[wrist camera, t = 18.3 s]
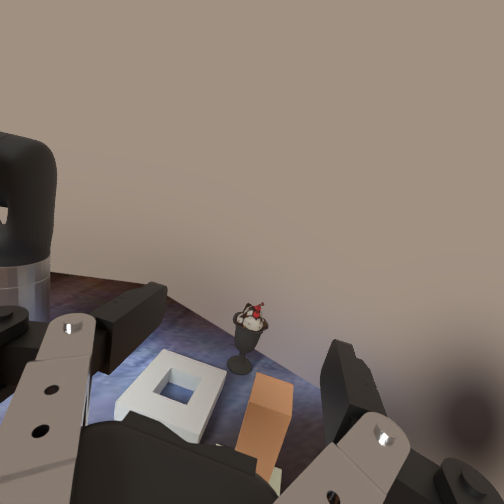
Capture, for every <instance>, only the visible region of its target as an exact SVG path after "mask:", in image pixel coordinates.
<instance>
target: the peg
mask: <svg viewBox="0 0 504 504" xmlns="http://www.w3.org/2000/svg"><path fill="white" fill-rule="evenodd" d="M292 402H293V384H290V383H287V382H285V381H282V380H279V379H276V378H273V377H270V376H267V375H264V374H261V373H258V372H257V373H256V377H255V380H254V384H253V387H252V391H251V395H250V398H249V402H248V405H247V409H246V412H245V416H244V419H243V423H242V426H241V430H240V433H239V437H238V440H237V444H236V447H235V450H236V451H239V452H241V453H244V454H247V455H249V456H252V457H254V458H257V459H258V460H257V466H256V473H257V474H259V475H260V476H261V477H262V478H263V479H264V480H266V481H267V482H268V483H269V480H270V477H271V475H272V472H273V469H274V466H275V463H276V460H277V457H278V454H279V452H280V449H281V446H282V443H283V440H284V437H285V434H286V432H287V429H288V426H289V423H290V420H291V417H292Z"/></svg>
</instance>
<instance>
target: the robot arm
mask: <svg viewBox="0 0 504 504" xmlns="http://www.w3.org/2000/svg"><path fill="white" fill-rule="evenodd" d="M56 185H57V168H56V162H55V158H54V156H53V153H52V152H51V150H50V149H49V148H48V147H47V146H46V145H45V144H44V143H42V142H40V141H37V140H33V139H30V138H25V137H21V136H17V135H13V134H8V133H4V132H0V207H7V208H8V216H7V221H6V224H2V225H0V403H1V402H3V401H4V400H5V399H7V398H8V397H9V396H10V395H12V394H13V393H14V392H15V393H14V395H13V398H12V400H11V402H10V405H9V407H8V410H7V412H6V414H5V417H4V419H3V422H2V424H1V426H0V504H504V501H503V500H502V498H501V496H500V495H499V493H498V492H497V491H496V489H495V488H494V487H493V486H492V484H491V483H490V482H489V481H488V480H487V479H486V478H485V477H484V476H483V475H482V474H480V473H479V472H478V471H477V470H475V469H474V468H473V467H471V466H470V465H468V464H466V463H465V462H463V461H460V460H458V459H455V458H446V459H444V461H443V462H442V463H441V465H440V466H438V465H437V464H435V463H434V462H432V461H430V460H429V459H427V458H426V457H424V456H422V455H420V454H419V453H417V452H416V451H414V450H413V449H411V448H410V443H409V441H408V439H407V437H406V435H405V434H404V432H403V431H402V430H401V428H400V427H399V426H398V425H397V424H396V423H394V422H393V421H392V420H390V419H389V418H388V417H387V415H386V412H385V409H384V407H383V404H382V401H381V398H380V396H379V393H378V390H376V388H377V387H376V385H375V382H374V381H373V380H374V379H373V376H372V374H371V371H370V369H369V368H368V367H367V365H366V364H365V363H364V362H363V360H361V359H358V358H356V356H355V352H354V349H353V346H352V344H349V343H346V342H343V341H339V340H336V339H334V340H333V341H332V343H331V346H330V348H329V351H328V353H327V356H326V359H325V361H324V364H323V367H322V370H321V375H320V387H321V399H322V411H323V422H324V433H325V444H326V448H325V449H324V450H323V451H322V452H321V453H320V454H319V455H318V457H317V458H316V459H315V460H314V461H313V462H312V463H311V464H310V465H309V466H308V467H307V468H306V469H305V470H304V471H303V472H302V473H301V474H300V475H299V476H298V478H297V479H296V480H295V481H294V482H293V483H292V484H291V485H290V486H289V487H288V488H287V489H286V490H285V491H284V492H283V493H282V494H281V495H280V496H278V495H277V493H276V492H275V490H274V489H273V488H272V487H271V486H270V485H269V483H268V482H267V481H266V480H264V479H263V478H262V477H261V476H260V475H259V474H257V473H256V466H257V460H258V459H257V458H254V457H252V456H249V455H247V454H244V453H241V452H239V451H236V450H233V449H231V448H228V447H226V446H218V445H207V444H197V443H189V442H187V441H185V440H184V439H182V438H181V437H180V436H179V435H177V434H176V433H175V432H173V431H172V430H171V429H169V428H168V427H167V426H165V425H164V424H163V423H161V422H160V421H157V420H155V419H152V418H150V417H147V416H144V415H142V414H139V413H136V412H134V411H131V410H130V411H129V412H128V413H127V415H126V416H125V417H124V419H123V420H122V421H104V422H98V423H94V424H90V425H87V422H88V413H89V405H90V396H91V387H92V376H93V375H94V374H95V373H96V372H98V371H99V372H102V373H105V374H107V375H110V374H111V373H112V372H113V371H114V370H115V369H116V368H117V367H118V366H119V365H120V364H121V363H122V362H123V361H124V360H125V359H126V358H127V357H128V356H129V355H130V354H131V353H132V352H133V351H134V350H135V349H136V348H137V347H138V346H139V345H140V344H141V343H142V342H143V341H144V340H145V339H146V338H147V337H148V336H149V335H150V334H151V333H153V332H154V331H155V330H156V329H157V328H158V326H159V325H160V323H161V322H162V319H163V316H164V311H165V304H166V297H167V287H166V286H164V285H161V284H158V283H155V282H149V283H148V284H146V285H145V286H143V287H141V288H140V289H139V288H135V289H131V290H128V291H125V292H124V293H122V294H120V295H119V296H118V297H115V298H114V299H112V300H111V301H109V302H107V303H105V304H104V305H102V306H100V307H99V308H97V309H95V310H94V311H92V312H90V313H88V314H83V313H72V314H66V315H63V316H60V317H57V318H56V319H54V320H53V321H51V322H50V323H49V321H50V246H51V239H52V234H53V226H54V224H53V223H54V207H55V196H56Z"/></svg>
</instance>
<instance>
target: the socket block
mask: <svg viewBox="0 0 504 504" xmlns="http://www.w3.org/2000/svg"><path fill="white" fill-rule="evenodd" d="M226 374H227V371H225V370H222V369H219V368H216V367H213V366H210V365H208V364H205V363H202V362H199V361H196V360H193V359H191V358H188V357H185V356H182V355H179V354H176V353H174V352H171V351H168V350H165V349H163V350H162V351H161V352H160V353H159V354H158V356H157V357H156V358H155V359H154V360H153V361H152V362H151V363H150V364H149V366H148V367H147V368H146V369H145V370H144V371H143V372H142V373H141V374H140V375H139V377H138V378H137V379H136V380H135V381H134V382H133V383H132V384H131V385H130V387H129V388H128V389H127V390H126V391H125V392H124V393H123V394H122V395H121V397H120V398H119V399H118V400H117V401H116V403H115V412H114V420H117V421H122V420H123V419H124V417H125V416H126V415H127V413H128V412H129V411H130V410H131V411H134V412H136V413H139V414H142V415H144V416H147V417H150V418H152V419H155V420H157V421H160V422H161V423H163V424H164V425H165V426H167V427H168V428H169V429H171V430H172V431H173V432H175V433H176V434H177V435H179V436H180V437H181V438H182V439H184V440H185V441H187V442H189V443H197V444H199V443H200V440H201V438H202V435H203V433H204V431H205V428H206V426H207V424H208V421H209V419H210V417H211V414H212V412H213V409H214V407H215V405H216V402H217V400H218V398H219V395H220V393H221V391H222V388H223V386H224V382H225V378H226ZM168 382H170V383H173V384H175V385H178V386H181V387H184V388H186V389H189V390H192V391H194V393H193V395H192V397H191V399H190V400H189V402H188V404H187V405H185V404H182V403H180V402H177V401H175V400H172V399H169V398H167V397H164V396H161V395H160V393H161V392H162V390H163V389H164V388H165V386H166V385H167V383H168Z"/></svg>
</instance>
